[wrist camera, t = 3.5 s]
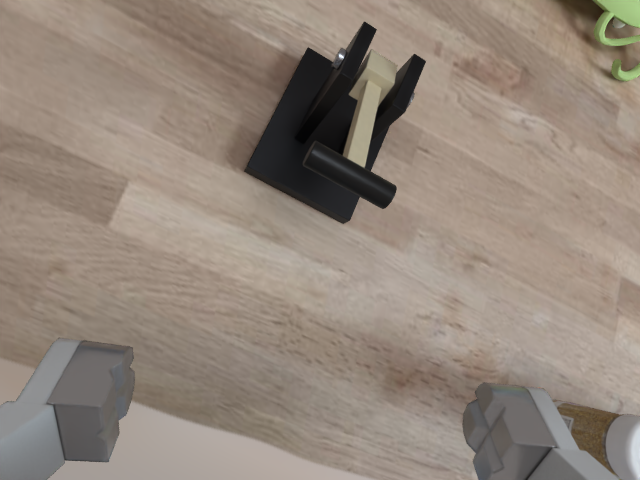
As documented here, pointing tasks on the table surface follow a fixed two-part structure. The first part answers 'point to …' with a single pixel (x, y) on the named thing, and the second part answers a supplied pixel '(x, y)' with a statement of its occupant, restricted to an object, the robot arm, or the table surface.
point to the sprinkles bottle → (605, 437)
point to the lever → (359, 136)
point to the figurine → (627, 8)
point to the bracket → (326, 124)
